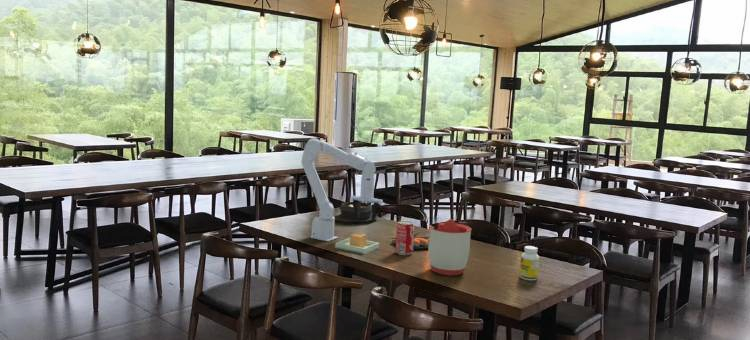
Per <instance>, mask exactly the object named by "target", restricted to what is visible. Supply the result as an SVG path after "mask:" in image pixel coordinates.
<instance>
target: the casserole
mask: <svg viewBox="0 0 750 340" xmlns="http://www.w3.org/2000/svg"><path fill="white" fill-rule="evenodd" d="M352 202H353V201H347V202H342V203H341V205H340V206H339V207H338V208H339V211H340V214H338V215H333V217H335V221H338V222H344V223H352V224H364V223H367V222H369V221H370V222H371V221H373V220H372V206H371V205H372V204H371V203H367V202H362V203H361V207H360V217H359V218H356V213H355V210H354V207H353V205H352ZM376 219H379V216H378V214H377V215H376Z"/></svg>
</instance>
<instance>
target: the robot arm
mask: <svg viewBox="0 0 750 340" xmlns="http://www.w3.org/2000/svg"><path fill="white" fill-rule="evenodd" d="M303 148H304V149H303V152H302V157H301V166H302V168H303V170H304V174H305V175H306V178H307V181H308V183H309V185H310V188H311V190H312V191H313V195H314V197H315V199H316V202H317V205H318V208H319V210H318V211H319V215H318V216H315V217H314V218H313V219H312V221H311V236H310V239H315V240H319V241H325V242H330V241H333V240H336V239H338V238H339V237H338V236H335V221H336V220H335V217H334V216H335V208H334V205H333V203H332V202H331V201H330V200H329V197H328V196H327V194H326V191H325V188H324V186H323V183H322V182H321V179H320V176H319V174H318V172H317V169H316V167H315V164H314V162H315V159H316V157H317V155H319V153H321V154H325V153H328V154H331V155H333V156H335V157H338V158H339V159H342V160H344V161H345V164H346V165H347V166H350V167H351V168H354V169H356V170H358V171H361V178H360V195H352V196H350V202H352V205H353V207H354V210H355V213H356V218H359V217H360V207H361V203H362V202H363V203H368V204H370V205H371V206H372V213H371V214H372V220H371V221H375V220H376V219H377V218H376V215H377V216H378V212H379V210H380V208H381V207H382V205H383V202H384V201H383V199H381V198H380V199H379V198H375V197H374V195H375V194H374V192H375V190H374V189H375V172H376V171H377V170H376V169H377V168H376V165H375V164H374V162H373V161H372V160H371V159H368V157H363V156H361V155H359V154H358V152H356V151H354V152H352V151H351V152H345V151H344V150H342V149H340V148H339V147H336V146H335V145H333V144H331V143H330V142H326V141H324V140H320V139H318V138H316V137H315V138H314V137H311V138H310V139H309V140H307V142H306V144H305V145H304V147H303Z"/></svg>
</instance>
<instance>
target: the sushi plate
mask: <svg viewBox="0 0 750 340" xmlns="http://www.w3.org/2000/svg"><path fill="white" fill-rule="evenodd" d="M419 234H421V232H419V231H418V232H417V233H414V241H413V250H427V249H428V250H429V236H424V237H423V236H422V237H421V236H418V237H417V235H419ZM415 236H416V237H415ZM391 238H392V243H393V244H394V245H395V246H396V237H391Z"/></svg>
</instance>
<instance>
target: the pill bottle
mask: <svg viewBox="0 0 750 340" xmlns="http://www.w3.org/2000/svg"><path fill="white" fill-rule="evenodd" d="M538 249H539V248H538V247H537V246H536V247H535V246H534V245H533V246H532V245H526V246H524V249H523V250H524V252H523V253H522V254H521V255H520V264H519V265H520V268H519V277H520V278H521V279H523V280H525V281H536V280H537V279H538V275H539V267H540V266H539V265H540V256H539V255H538V251H539V250H538Z"/></svg>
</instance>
